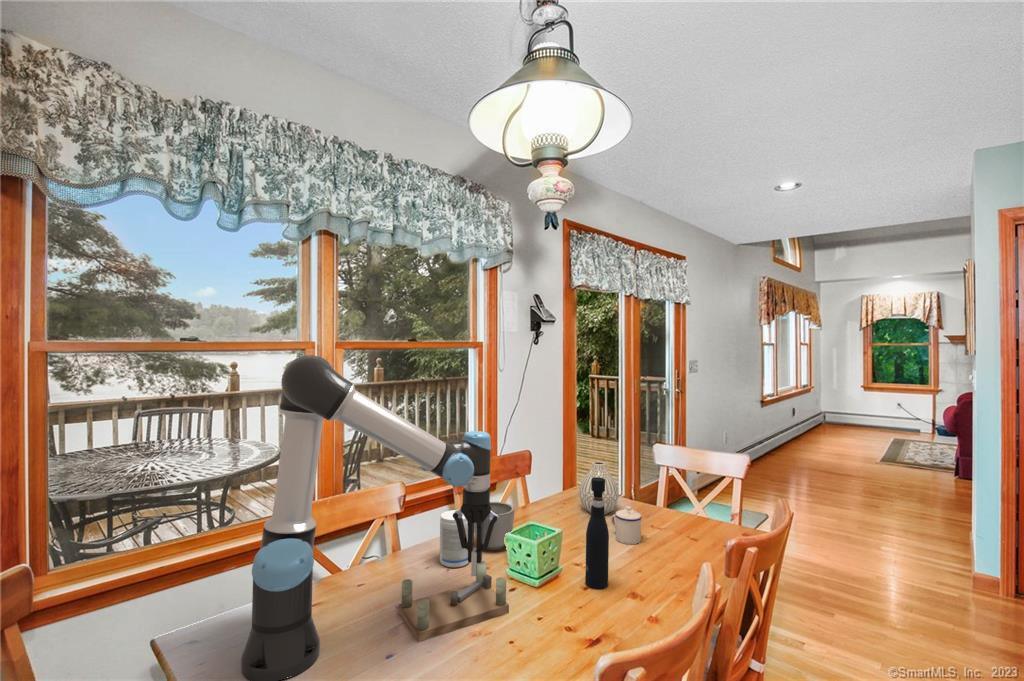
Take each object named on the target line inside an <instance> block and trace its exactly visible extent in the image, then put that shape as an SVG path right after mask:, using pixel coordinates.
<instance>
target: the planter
mask: <svg viewBox="0 0 1024 681" xmlns="http://www.w3.org/2000/svg"><path fill="white" fill-rule="evenodd" d="M490 507H491V511H492V512H494V513H495V514H499V517H498V519H497V521H496V522H495V524H494V528H493V532H492V536H491V539H490V543H489V546H488V548H487V550H486V551H490V550H492V551H493V550H497V551H500V550H502V549H503V548H504V547H505V546H506V545H505V544H504V537H505V534H506V533H508V532H511V531H512V530H513V531H514V520H515V507H514V506H513V505H511V504H509V503H506V502H502V501H490ZM489 517H490V516H489V515H488V516H487V518H486V519H485V520H484V523H483V544H484V541H485V538H486V534H487V530H488V527H489V523H490V520H489ZM474 539H475V541H477V523H474ZM493 552H494V551H493Z"/></svg>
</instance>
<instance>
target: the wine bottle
mask: <svg viewBox="0 0 1024 681" xmlns="http://www.w3.org/2000/svg"><path fill="white" fill-rule="evenodd" d="M591 490H592V491H594V496H593V497H594V498H593V500H592V502H593V503H592V504H593V505H592V506H591V513H590V518H589V519H588V520H589V521H588V523H587V526H586V531H585V576H584V577H585V578H584V579H585V580H584V581H585V582H584V583H585V585H586V586H587V587H588V588H589V589H593V590H605V589H607V588H608V587H609V548H610V547H609V546H610V544H609V541H610V539H609V538H610V533H609V527H608V526H609V525H608V523H607V520H606V517H605V515H604V509H605V507H604V506H603V505H604V504H603V503H604V501H603V499H602V498H603V496H602V493H603V492H604V491H605V479H604V478H599V477H594V478H592V479H591Z"/></svg>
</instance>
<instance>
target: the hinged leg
mask: <svg viewBox="0 0 1024 681" xmlns="http://www.w3.org/2000/svg"><path fill="white" fill-rule="evenodd" d="M487 566H488V565H487V562H486V561H484V560H481V562H480V563H476V577H475V581H473V582H472V583H471V584H469V586H468V585H467V586H468V587H467V588H465V589H464V590H462V591H461V592H459V593H458V601H462V600H463V599H465V598H466V597H467V596H469V595H470V594H471V593H473V592H474V591H476V590H477V589H478V588H480V587H481V586H483V577H484V576H486V575H487Z"/></svg>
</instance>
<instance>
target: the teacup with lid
mask: <svg viewBox="0 0 1024 681" xmlns="http://www.w3.org/2000/svg"><path fill="white" fill-rule="evenodd" d="M642 518H643V517H642V514H641V513H640V512H638V511H636V510H634V509H633V508H632V506H628V505H626V506H625V508H623V509H619V510H617V511H616V512H615V514H612V515H611V518H610V521H611V522H610V523H611V525H612V526H613V528H614V529H615V539H616V541H617V542H619V543H621V544H623V543H624V544H625V545H630V544H632V545H637V543H638V544H639V543H641V541H642V540H641V536H642V527H641V526H642Z"/></svg>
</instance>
